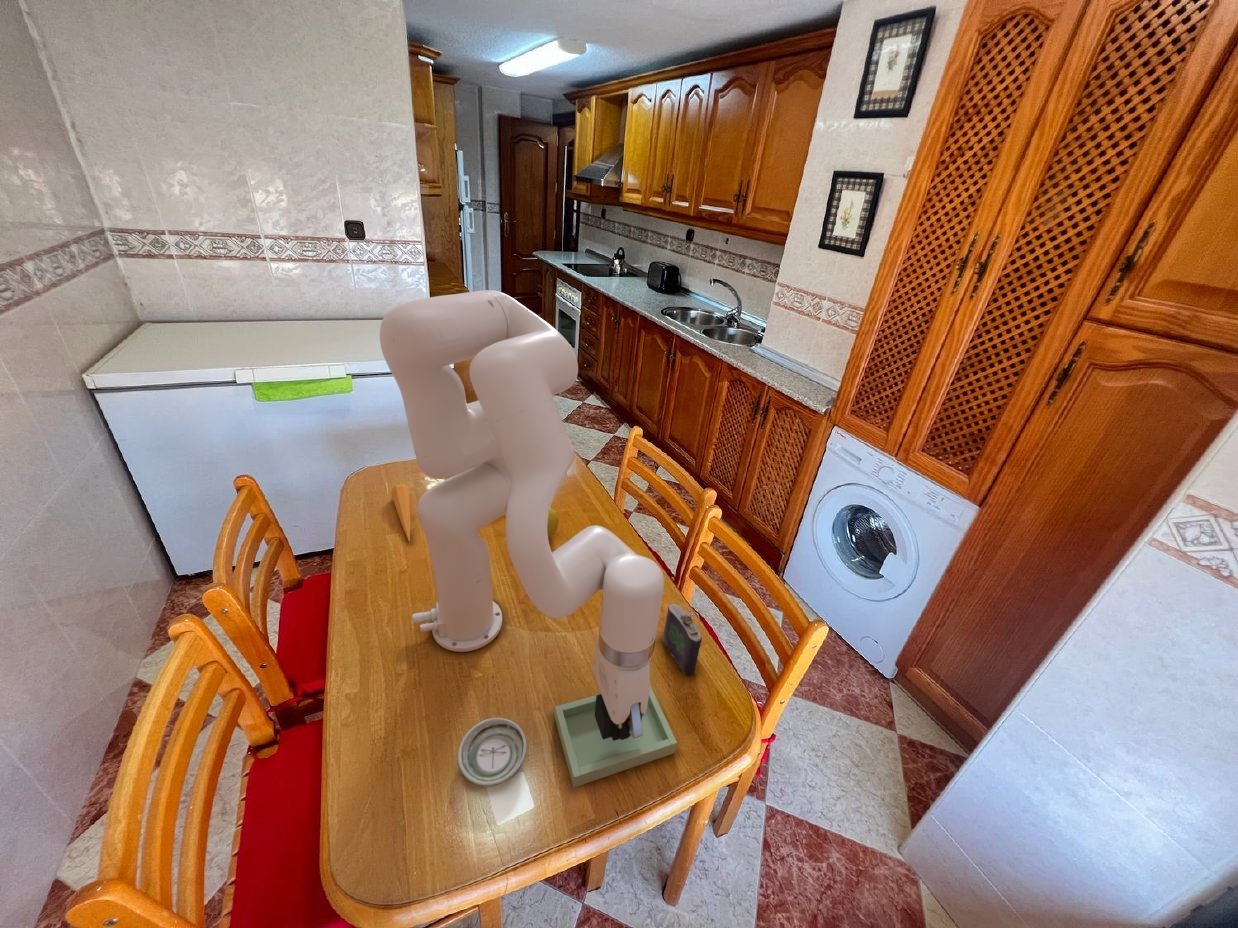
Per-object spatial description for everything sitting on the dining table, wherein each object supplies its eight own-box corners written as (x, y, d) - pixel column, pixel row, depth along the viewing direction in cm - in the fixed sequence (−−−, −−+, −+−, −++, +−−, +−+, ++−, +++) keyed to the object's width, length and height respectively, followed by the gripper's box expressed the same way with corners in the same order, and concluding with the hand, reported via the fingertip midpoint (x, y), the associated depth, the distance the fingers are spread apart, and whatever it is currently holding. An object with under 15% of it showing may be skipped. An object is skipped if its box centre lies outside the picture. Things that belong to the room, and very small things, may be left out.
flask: (659, 638, 94) (667, 597, 88) (672, 633, 95) (680, 593, 90) (685, 678, 87) (695, 636, 81) (699, 672, 88) (710, 631, 83)
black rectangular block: (602, 739, 73) (604, 719, 70) (594, 715, 76) (596, 694, 73) (640, 727, 75) (643, 707, 72) (630, 704, 78) (633, 684, 75)
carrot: (396, 497, 126) (386, 486, 123) (412, 489, 126) (403, 478, 123) (405, 553, 112) (394, 541, 108) (424, 543, 112) (413, 532, 109)
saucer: (464, 805, 67) (463, 795, 66) (454, 738, 74) (453, 729, 73) (534, 778, 71) (534, 768, 69) (518, 717, 78) (517, 708, 77)
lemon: (553, 545, 114) (554, 517, 110) (530, 540, 115) (530, 512, 111) (560, 530, 119) (561, 503, 115) (538, 526, 120) (539, 499, 116)
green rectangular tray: (573, 787, 70) (574, 777, 69) (554, 717, 79) (554, 706, 77) (674, 753, 75) (677, 742, 74) (646, 690, 84) (648, 680, 83)
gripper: (581, 599, 71) (577, 681, 80) (622, 702, 58) (611, 785, 67) (630, 589, 74) (620, 669, 83) (679, 685, 60) (661, 767, 70)
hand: (616, 720), depth 75 cm, fingers closed on black rectangular block, 4 cm apart
